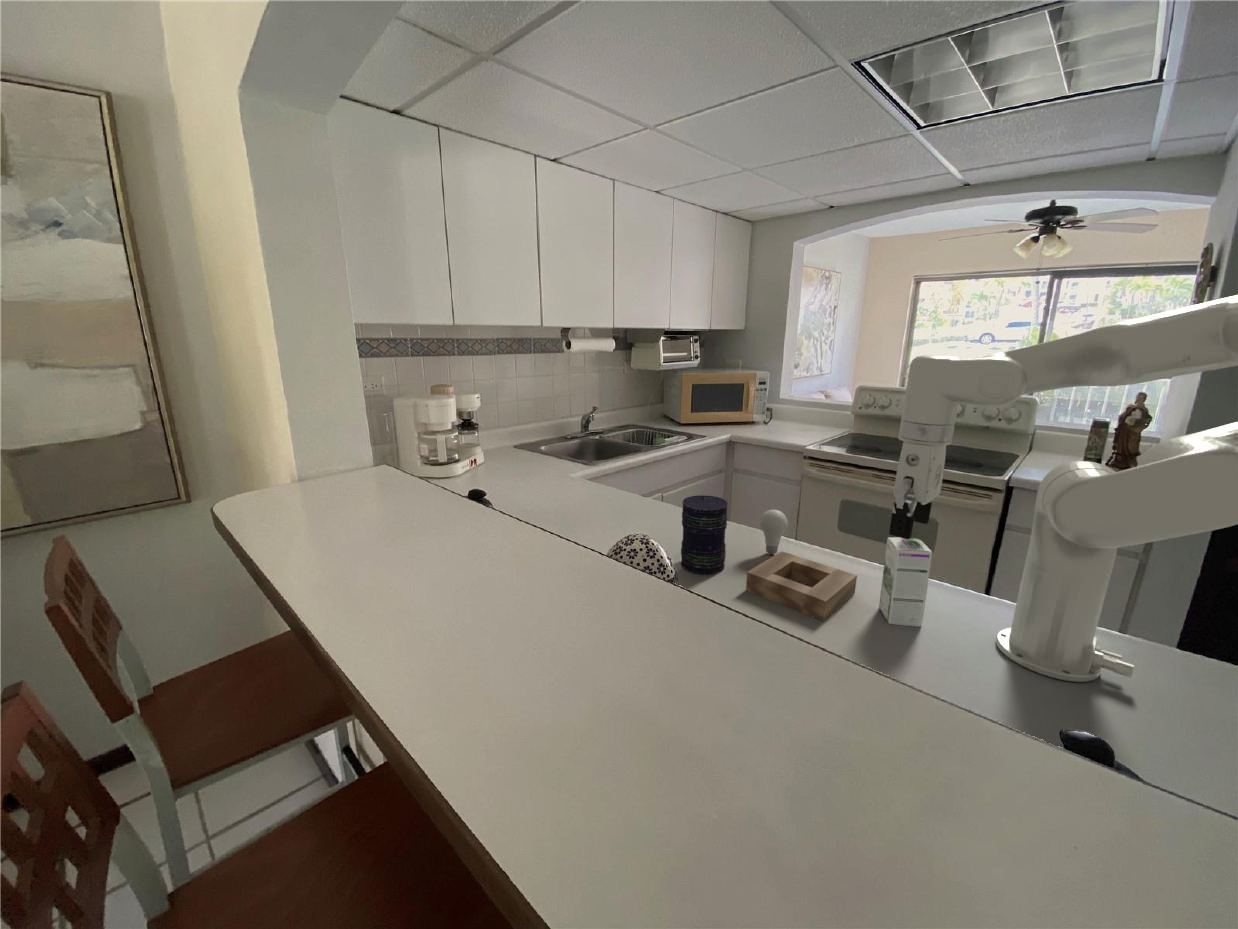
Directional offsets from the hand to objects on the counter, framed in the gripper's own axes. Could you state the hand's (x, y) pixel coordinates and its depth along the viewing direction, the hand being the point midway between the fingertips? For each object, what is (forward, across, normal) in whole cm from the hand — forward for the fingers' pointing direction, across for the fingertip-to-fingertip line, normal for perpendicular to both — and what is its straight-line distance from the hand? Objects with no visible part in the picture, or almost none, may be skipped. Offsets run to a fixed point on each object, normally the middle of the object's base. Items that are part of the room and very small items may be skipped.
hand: (909, 528), depth 85 cm
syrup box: (+17, 0, -1) cm, 17 cm away
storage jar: (+18, -8, +37) cm, 42 cm away
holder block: (+17, -4, +16) cm, 24 cm away
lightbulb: (+18, +8, +29) cm, 35 cm away
